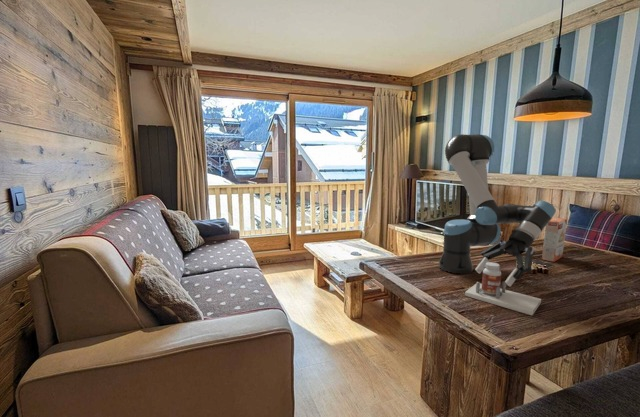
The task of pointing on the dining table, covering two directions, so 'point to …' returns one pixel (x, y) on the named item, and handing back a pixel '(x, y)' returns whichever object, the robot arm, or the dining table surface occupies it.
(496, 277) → the pill bottle
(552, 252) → the cracker box
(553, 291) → the dining table surface
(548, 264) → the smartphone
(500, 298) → the pin tray
